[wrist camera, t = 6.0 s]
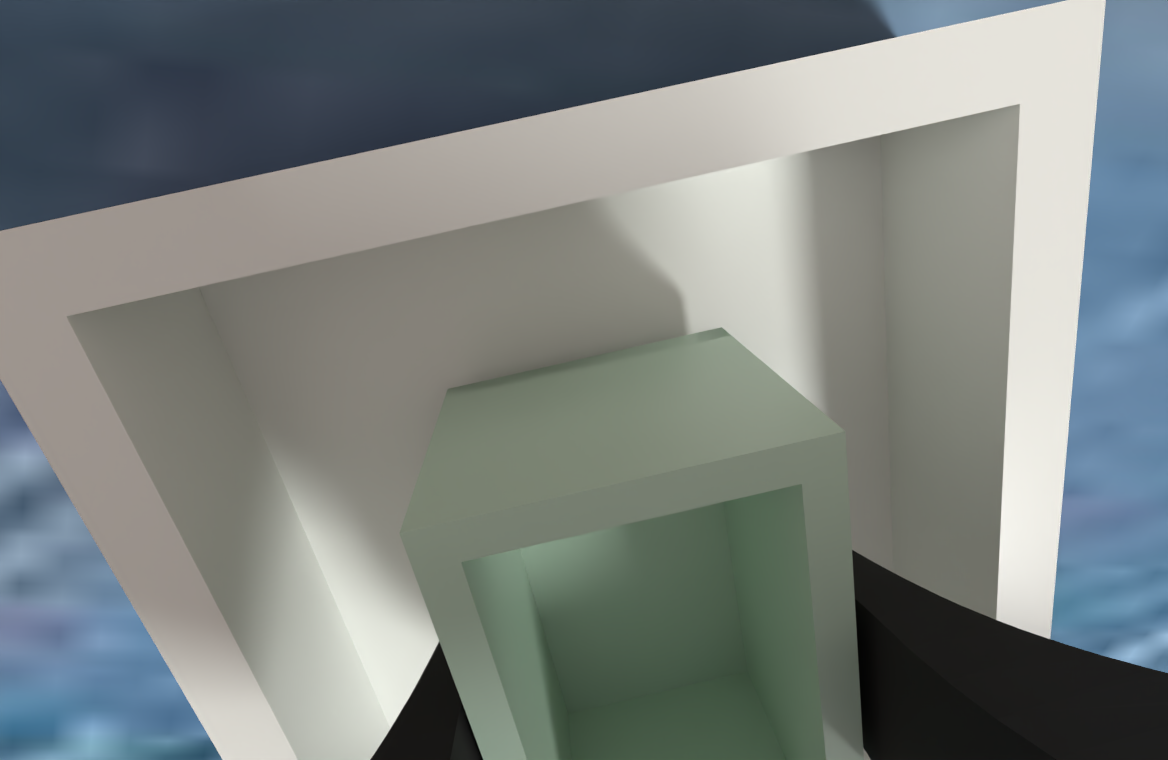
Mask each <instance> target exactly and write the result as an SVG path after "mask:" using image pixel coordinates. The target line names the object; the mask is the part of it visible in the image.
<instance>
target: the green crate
mask: <svg viewBox="0 0 1168 760" xmlns="http://www.w3.org/2000/svg"><path fill="white" fill-rule="evenodd" d="M399 534H400V537H401V539H402V542H403V545H404V547H405V550H406V553H407V555H408V558H409V561H410V564H411V566H412V569H413V572H414V574H415V577H416V580H417V582H418V585H419V588H420V590H421V593H422V596H423V599H424V601H425V604H426V607H427V609H428V612H429V615H430V617H431V620H432V623H433V626H434V628H435V631H436V634H437V636H438V639H439V642H440V644H441V647H442V650H443V653H444V655H445V658H446V661H447V663H448V666H449V669H450V671H451V674H452V677H453V679H454V682H455V685H456V688H457V690H458V693H459V696H460V698H461V701H462V704H463V706H464V709H465V712H466V715H467V717H468V720H469V723H470V725H471V728H472V731H473V733H474V736H475V739H476V742H477V744H478V747H479V750H480V752H481V755H482V758H483V760H864V753H863V735H862V718H861V700H860V682H859V665H858V647H857V629H856V612H855V594H854V576H853V559H852V541H851V523H850V506H849V488H848V470H847V453H846V435H845V431H844V430H843V429H842V428H841V427H840V426H838V425H837V424H836V423H835V422H834V421H832V420H831V419H830V418H829V417H828V416H827V415H825V414H824V413H823V412H822V411H821V410H819V409H818V408H817V407H816V406H815V405H813V404H812V403H811V402H810V401H809V400H808V399H806V398H805V397H804V396H803V395H802V394H800V393H799V392H798V391H797V390H796V389H794V388H793V387H792V386H791V385H790V384H788V383H787V382H786V381H785V380H784V379H783V378H781V377H780V376H779V375H778V374H777V373H775V372H774V371H773V370H772V369H771V368H769V367H768V366H767V365H766V364H765V363H764V362H762V361H761V360H760V359H759V358H758V357H756V356H755V355H754V354H753V353H752V352H750V351H749V350H748V349H747V348H746V347H745V346H743V345H742V344H741V343H740V342H739V341H737V340H736V339H735V338H734V337H733V336H731V335H730V334H729V333H728V332H727V331H725V330H724V329H723V328H722V327H720V328H716V329H712V330H707V331H703V332H698V333H694V334H689V335H685V336H680V337H676V338H672V339H667V340H663V341H658V342H654V343H649V344H645V345H640V346H636V347H632V348H627V349H623V350H618V351H614V352H609V353H605V354H600V355H596V356H592V357H587V358H583V359H578V360H574V361H569V362H565V363H560V364H556V365H552V366H547V367H543V368H538V369H534V370H529V371H525V372H520V373H516V374H512V375H507V376H503V377H498V378H494V379H489V380H485V381H480V382H476V383H472V384H467V385H463V386H458V387H454V388H449V389H448V390H447V392H446V395H445V398H444V401H443V404H442V407H441V410H440V413H439V416H438V419H437V422H436V425H435V428H434V431H433V434H432V437H431V440H430V443H429V446H428V449H427V452H426V455H425V458H424V461H423V464H422V467H421V470H420V473H419V476H418V479H417V482H416V485H415V488H414V491H413V494H412V497H411V500H410V503H409V506H408V509H407V512H406V515H405V518H404V521H403V524H402V527H401V530H400V533H399Z"/></svg>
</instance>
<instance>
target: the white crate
mask: <svg viewBox="0 0 1168 760" xmlns="http://www.w3.org/2000/svg"><path fill="white" fill-rule="evenodd" d="M1105 2H1106V0H1067V1H1062V2H1058V3H1053V4H1049V5H1044V6H1039V7H1035V8H1030V9H1025V10H1021V11H1016V12H1012V13H1007V14H1002V15H998V16H993V17H988V18H984V19H979V20H974V21H970V22H965V23H961V24H956V25H951V26H947V27H942V28H937V29H933V30H928V31H924V32H919V33H914V34H910V35H905V36H900V37H896V38H891V39H886V40H882V41H877V42H873V43H868V44H863V45H859V46H854V47H849V48H845V49H840V50H836V51H831V52H826V53H822V54H817V55H812V56H808V57H803V58H798V59H794V60H789V61H785V62H780V63H775V64H771V65H766V66H761V67H757V68H752V69H748V70H743V71H738V72H734V73H729V74H724V75H720V76H715V77H710V78H706V79H701V80H697V81H692V82H687V83H683V84H678V85H673V86H669V87H664V88H660V89H655V90H650V91H646V92H641V93H636V94H632V95H627V96H622V97H618V98H613V99H609V100H604V101H599V102H595V103H590V104H585V105H581V106H576V107H572V108H567V109H562V110H558V111H553V112H548V113H544V114H539V115H535V116H530V117H525V118H521V119H516V120H511V121H507V122H502V123H497V124H493V125H488V126H484V127H479V128H474V129H470V130H465V131H460V132H456V133H451V134H447V135H442V136H437V137H433V138H428V139H423V140H419V141H414V142H409V143H405V144H400V145H396V146H391V147H386V148H382V149H377V150H372V151H368V152H363V153H359V154H354V155H349V156H345V157H340V158H335V159H331V160H326V161H321V162H317V163H312V164H308V165H303V166H298V167H294V168H289V169H284V170H280V171H275V172H271V173H266V174H261V175H257V176H252V177H247V178H243V179H238V180H233V181H229V182H224V183H220V184H215V185H210V186H206V187H201V188H196V189H192V190H187V191H183V192H178V193H173V194H169V195H164V196H159V197H155V198H150V199H145V200H141V201H136V202H132V203H127V204H122V205H118V206H113V207H108V208H104V209H99V210H95V211H90V212H85V213H81V214H76V215H71V216H67V217H62V218H57V219H53V220H48V221H44V222H39V223H34V224H30V225H25V226H20V227H16V228H11V229H7V230H2V231H0V379H1V381H2V383H3V385H4V386H5V388H6V390H7V391H8V393H9V395H10V397H11V398H12V400H13V402H14V403H15V405H16V407H17V409H18V410H19V412H20V414H21V415H22V417H23V419H24V421H25V422H26V424H27V426H28V427H29V429H30V431H31V433H32V434H33V436H34V438H35V439H36V441H37V443H38V445H39V446H40V448H41V450H42V451H43V453H44V455H45V456H46V458H47V460H48V462H49V463H50V465H51V467H52V468H53V470H54V472H55V474H56V475H57V477H58V479H59V480H60V482H61V484H62V486H63V487H64V489H65V491H66V492H67V494H68V496H69V498H70V499H71V501H72V503H73V504H74V506H75V508H76V510H77V511H78V513H79V515H80V516H81V518H82V520H83V522H84V523H85V525H86V527H87V528H88V530H89V532H90V533H91V535H92V537H93V539H94V540H95V542H96V544H97V545H98V547H99V549H100V551H101V552H102V554H103V556H104V557H105V559H106V561H107V563H108V564H109V566H110V568H111V569H112V571H113V573H114V575H115V576H116V578H117V580H118V581H119V583H120V585H121V587H122V588H123V590H124V592H125V593H126V595H127V597H128V599H129V600H130V602H131V604H132V605H133V607H134V609H135V610H136V612H137V614H138V616H139V617H140V619H141V621H142V622H143V624H144V626H145V628H146V629H147V631H148V633H149V634H150V636H151V638H152V640H153V641H154V643H155V645H156V646H157V648H158V650H159V652H160V653H161V655H162V657H163V658H164V660H165V662H166V664H167V665H168V667H169V669H170V670H171V672H172V674H173V676H174V677H175V679H176V681H177V682H178V684H179V686H180V687H181V689H182V691H183V693H184V694H185V696H186V698H187V699H188V701H189V703H190V705H191V706H192V708H193V710H194V711H195V713H196V715H197V717H198V718H199V720H200V722H201V723H202V725H203V727H204V729H205V730H206V732H207V734H208V735H209V737H210V739H211V741H212V742H213V744H214V746H215V747H216V749H217V751H218V753H219V754H220V756H221V758H222V759H223V760H370V759H371V758H372V756H373V755H374V753H375V752H376V750H377V749H378V747H379V746H380V744H381V743H382V741H383V740H384V738H385V737H386V735H387V733H388V732H389V730H390V729H391V727H392V725H393V724H394V722H395V720H396V719H397V717H398V715H399V714H400V712H401V710H402V709H403V707H404V705H405V704H406V702H407V700H408V699H409V697H410V695H411V693H412V692H413V690H414V688H415V686H416V684H417V683H418V681H419V679H420V677H421V675H422V673H423V671H424V669H425V668H426V666H427V664H428V662H429V660H430V658H431V656H432V654H433V652H434V650H435V648H436V646H437V644H438V642H439V639H438V636H437V634H436V631H435V628H434V626H433V623H432V620H431V617H430V615H429V612H428V609H427V607H426V604H425V601H424V599H423V596H422V593H421V590H420V588H419V585H418V582H417V580H416V577H415V574H414V572H413V569H412V566H411V564H410V561H409V558H408V555H407V553H406V550H405V547H404V545H403V542H402V539H401V537H400V534H399V533H400V530H401V527H402V524H403V521H404V518H405V515H406V512H407V509H408V506H409V503H410V500H411V497H412V494H413V491H414V488H415V485H416V482H417V479H418V476H419V473H420V470H421V467H422V464H423V461H424V458H425V455H426V452H427V449H428V446H429V443H430V440H431V437H432V434H433V431H434V428H435V425H436V422H437V419H438V416H439V413H440V410H441V407H442V404H443V401H444V398H445V395H446V392H447V390H448V389H449V388H454V387H458V386H463V385H467V384H472V383H476V382H480V381H485V380H489V379H494V378H498V377H503V376H507V375H512V374H516V373H520V372H525V371H529V370H534V369H538V368H543V367H547V366H552V365H556V364H560V363H565V362H569V361H574V360H578V359H583V358H587V357H592V356H596V355H600V354H605V353H609V352H614V351H618V350H623V349H627V348H632V347H636V346H640V345H645V344H649V343H654V342H658V341H663V340H667V339H672V338H676V337H680V336H685V335H689V334H694V333H698V332H703V331H707V330H712V329H716V328H720V327H722V328H723V329H724V330H725V331H727V332H728V333H729V334H730V335H731V336H733V337H734V338H735V339H736V340H737V341H739V342H740V343H741V344H742V345H743V346H745V347H746V348H747V349H748V350H749V351H750V352H752V353H753V354H754V355H755V356H756V357H758V358H759V359H760V360H761V361H762V362H764V363H765V364H766V365H767V366H768V367H769V368H771V369H772V370H773V371H774V372H775V373H777V374H778V375H779V376H780V377H781V378H783V379H784V380H785V381H786V382H787V383H788V384H790V385H791V386H792V387H793V388H794V389H796V390H797V391H798V392H799V393H800V394H802V395H803V396H804V397H805V398H806V399H808V400H809V401H810V402H811V403H812V404H813V405H815V406H816V407H817V408H818V409H819V410H821V411H822V412H823V413H824V414H825V415H827V416H828V417H829V418H830V419H831V420H832V421H834V422H835V423H836V424H837V425H838V426H840V427H841V428H842V429H843V430H844V431H845V435H846V453H847V470H848V488H849V506H850V523H851V541H852V550H854V551H855V552H857V553H859V554H861V555H862V556H864V557H866V558H868V559H869V560H871V561H873V562H875V563H877V564H878V565H880V566H882V567H884V568H886V569H888V570H889V571H891V572H893V573H895V574H897V575H899V576H901V577H903V578H905V579H907V580H909V581H911V582H913V583H915V584H917V585H919V586H921V587H923V588H925V589H927V590H929V591H931V592H933V593H935V594H937V595H939V596H941V597H943V598H946V599H948V600H950V601H952V602H955V603H957V604H959V605H961V606H964V607H966V608H969V609H971V610H973V611H976V612H978V613H981V614H983V615H986V616H988V617H990V618H993V619H995V620H998V621H1000V622H1003V623H1006V624H1008V625H1011V626H1014V627H1016V628H1019V629H1022V630H1024V631H1027V632H1030V633H1033V634H1036V635H1039V636H1042V637H1045V638H1048V639H1050V635H1051V623H1052V612H1053V600H1054V589H1055V577H1056V566H1057V554H1058V543H1059V531H1060V520H1061V508H1062V497H1063V485H1064V474H1065V462H1066V451H1067V439H1068V428H1069V416H1070V405H1071V393H1072V382H1073V370H1074V359H1075V347H1076V336H1077V324H1078V313H1079V301H1080V290H1081V278H1082V267H1083V255H1084V244H1085V232H1086V221H1087V209H1088V198H1089V186H1090V175H1091V163H1092V152H1093V140H1094V129H1095V117H1096V106H1097V94H1098V83H1099V71H1100V60H1101V48H1102V37H1103V25H1104V14H1105ZM863 753H864V760H871V759H870V758H869V756H868V754H867V753H866V751H865V750H864V748H863Z"/></svg>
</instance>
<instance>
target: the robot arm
mask: <svg viewBox="0 0 1168 760" xmlns="http://www.w3.org/2000/svg"><path fill="white" fill-rule="evenodd" d="M852 559H853V576H854V594H855V612H856V629H857V647H858V665H859V682H860V700H861V718H862V735H863V748H864V750H865V751H866V753H867V754H868V756H869V758H870V759H871V760H1168V673H1165V672H1161V671H1157V670H1153V669H1149V668H1145V667H1142V666H1138V665H1134V664H1131V663H1127V662H1123V661H1120V660H1116V659H1112V658H1109V657H1105V656H1101V655H1098V654H1095V653H1091V652H1088V651H1085V650H1082V649H1078V648H1075V647H1072V646H1069V645H1065V644H1063V643H1060V642H1057V641H1054V640H1051V639H1048V638H1045V637H1042V636H1039V635H1036V634H1033V633H1030V632H1027V631H1024V630H1022V629H1019V628H1016V627H1014V626H1011V625H1008V624H1006V623H1003V622H1000V621H998V620H995V619H993V618H990V617H988V616H986V615H983V614H981V613H978V612H976V611H973V610H971V609H969V608H966V607H964V606H961V605H959V604H957V603H955V602H952V601H950V600H948V599H946V598H943V597H941V596H939V595H937V594H935V593H933V592H931V591H929V590H927V589H925V588H923V587H921V586H919V585H917V584H915V583H913V582H911V581H909V580H907V579H905V578H903V577H901V576H899V575H897V574H895V573H893V572H891V571H889V570H888V569H886V568H884V567H882V566H880V565H878V564H877V563H875V562H873V561H871V560H869V559H868V558H866V557H864V556H862V555H861V554H859V553H857V552H855V551H854V550H852ZM370 760H483V758H482V755H481V752H480V750H479V747H478V744H477V742H476V739H475V736H474V733H473V731H472V728H471V725H470V723H469V720H468V717H467V715H466V712H465V709H464V706H463V704H462V701H461V698H460V696H459V693H458V690H457V688H456V685H455V682H454V679H453V677H452V674H451V671H450V669H449V666H448V663H447V661H446V658H445V655H444V653H443V650H442V647H441V644H440V642H438V644H437V646H436V648H435V650H434V652H433V654H432V656H431V658H430V660H429V662H428V664H427V666H426V668H425V669H424V671H423V673H422V675H421V677H420V679H419V681H418V683H417V684H416V686H415V688H414V690H413V692H412V693H411V695H410V697H409V699H408V700H407V702H406V704H405V705H404V707H403V709H402V710H401V712H400V714H399V715H398V717H397V719H396V720H395V722H394V724H393V725H392V727H391V729H390V730H389V732H388V733H387V735H386V737H385V738H384V740H383V741H382V743H381V744H380V746H379V747H378V749H377V750H376V752H375V753H374V755H373V756H372V758H371V759H370Z"/></svg>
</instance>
